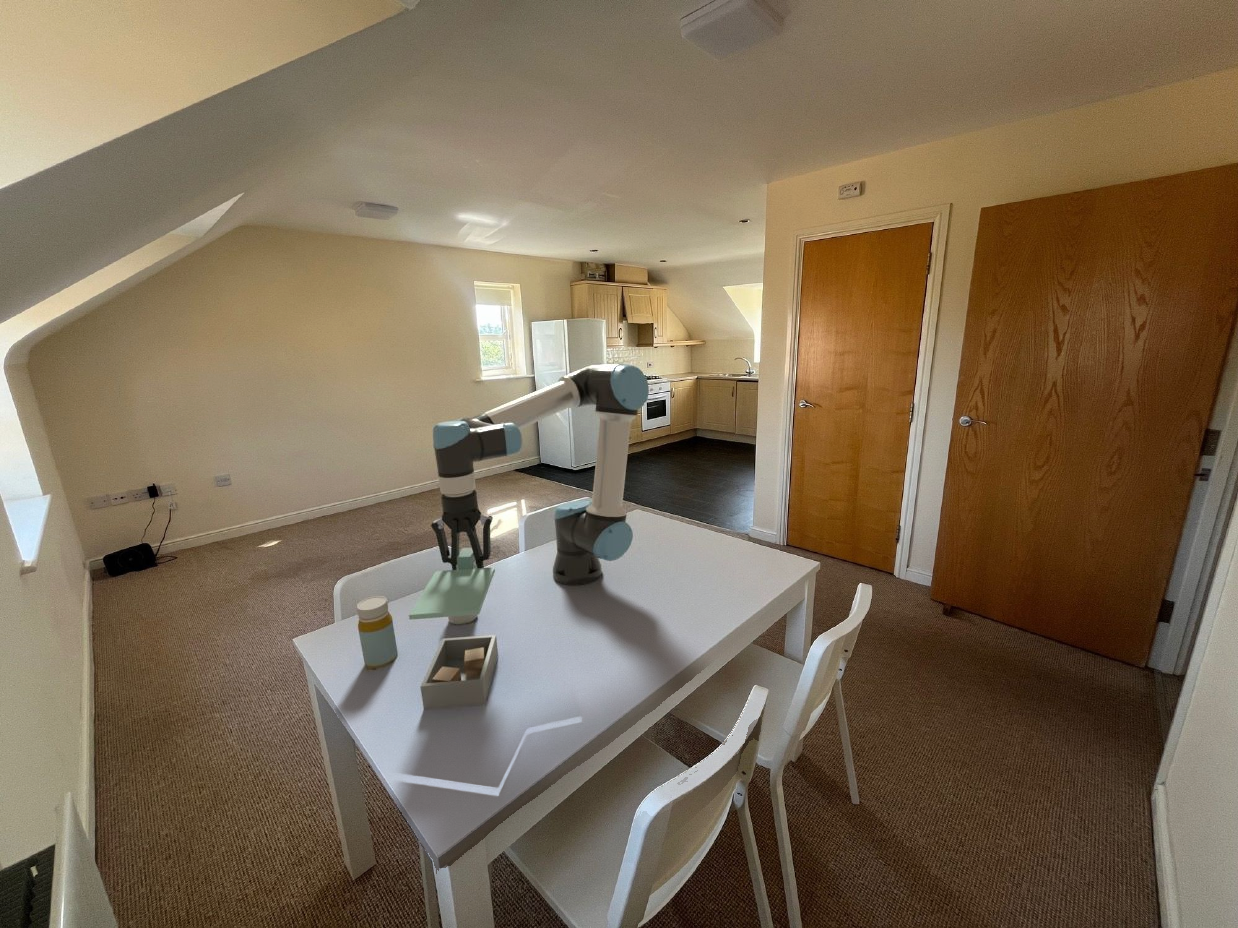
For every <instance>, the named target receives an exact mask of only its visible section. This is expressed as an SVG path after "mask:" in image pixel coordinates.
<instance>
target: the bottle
mask: <svg viewBox="0 0 1238 928" xmlns="http://www.w3.org/2000/svg"><path fill="white" fill-rule="evenodd" d="M356 612H357V616H358V623H357V628H358V635H359V640H360V646H361V651H362V652H361V653H362V657H363V658H362V659H363V663H364V666H365V667H366V668H368V669H370V670H374V671H375V670H376V669H378V668H382V667H386V666H387V665H390V664H392V663H393V662H394V661H395V660H396V659H397V658H398V656H399V655H398V645H397V640H396V635H395V628H394V622H393V616H392V615H391V613H390V610H389V603H388V598H386V596H382V595H377V596H376V595H375V596H370V597H367V598H364V599H363V600H361V601H359V603H357V605H356Z"/></svg>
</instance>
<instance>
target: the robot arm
mask: <svg viewBox="0 0 1238 928" xmlns="http://www.w3.org/2000/svg"><path fill="white" fill-rule="evenodd" d="M649 387H650V386H649V382H648V378H647V376H646V375H645V374H644V373H643V371H642V370H641V369H640V368H639V367H637V366H635V365H631V364H625V363H614V364H613V363H612V364H611V363H607V364H606V363H595V364H591V365H587V366H585V367H583V368H580V369H578V370H575V371H573V372H571V373H568V374H566V375H563V376H561V377H560V378H559V379H558V381H557V382H556V383H554V384H551V385H549V386H546V387H543V388H541V389H539V390H536V391H533V392H531V393H528V394H526V395H524V396H522V397H519V398H517V399H515V400H511V401H509V402H507V403H505V404H502V405H499V406H497V407H495V408H492V409H490V410H488V411H486V412H483V413H480V414H477V415H475V416H473V417H472V416H471V417H461V418H457V419H455V420H453V421H452V420H451V421H443V422H438V423H437V424H434V426H433V428H432V441H433V445H432V446H433V449H434V455H435V461H436V462H435V463H436V468H437V475H438V477H437V478H438V485H439V486H438V487H439V492H440V493H441V496H440V499H441V507H442V515H441V517H440V518H437V519H436V518H435V519H434V520H433V521H432V523H431V524H430V526H431V528H432V530H433V531H434V533H435V535H436V539H437V544H438V549H439V554H440V556H441V561H442V562H443V564H451V570H458V562H457V556H458V555H459V553H460V533H466V535H467V537H468V539H469V542H470V548H472V550H473V554H474V557H475V561H474V563H473V569H476V568H485V567H484V566H485V564H484V561H488V560H490V559H489V558H490V556H491V554H492V553H491V550H492V549H491V525H492V522H493V516H491V515H488V516H486V515H484V514H482V512H481V511H480V509H479V503H478V502H479V501H478V495H477V491H476V490H475V489H476V488H477V486H476V478H475V468H474V463H478V462H481V461H487V460H493V459H497V458H498V459H499V458H503V457H508V456H511V455H514V454H515V455H516V454H518V453H519V452H520V451H521V449H522V446H523V438H522V437H523V436H522V432H521V430H522V429H524V428H526V427H528V426H530V425H533V424H535V423H537V422H539V421H541V420H544V419H546V418H548V417H550V416H553V415H556V414H558V413H559V412H562V411H565V410H566V409H568V408H569V409H573V410H574V409H578V408H580V407H583V406H589V405H591V406H594V405H595V410H594V411H595V414H596V415H597V416H598V418H599V427H598V435H597V447H596V458H595V466H594V467H595V469H594V477H593V487H592V497H591V501H590V500H572V501H567V502H565V503H562V504H559V505H558V506H556V508H555V509H554V518H553V519H554V524H555V528H554V529H555V537H556V538H555V539H556V556H555V559H554V563H553V566H552V578H553V579H554V580H555V581H556V582H558V583H560V584H564V585H567V586H568V585H569V586H579V585H586V584H590V583H592V582H594V581H596V580H598V579H599V578H600V577H601V575H602V563H601V561H600V559H602V560H604V561H608V562H614V561H616V560H618V559H620V558H622V557H623V556H624V555H625V554H626V553H627V552H628V550H629V549H630V547H631V545H632V541H633V536H634V534H633V533H634V532H633V529H632V528H631V526H630V524H629V523H628V522H627V515H628V514H627V511H626V509H625V508H624V506H623V499H624V491H625V481H626V471H627V464H628V463H627V462H628V455H629V445H630V436H631V435H630V434H631V425H632V421H633V420H635V418H637V417H638V412H639V409H640V408H642V407H644V405H645V403H647V400H648V398H649V392H650V388H649ZM479 521H480V524H481V526H482V527H483V528H482V548H481V545H480V540H479V537H478V534H477V528H476V526H477V524H478V523H479ZM444 526H447V527H448V529H450V537H451V539H450V541H451V542H450V543H451V544H450V545H451V547H450V549H449V544H448V543H449V542H448V541H447V536H446V531H445V527H444Z"/></svg>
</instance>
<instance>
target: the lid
mask: <svg viewBox="0 0 1238 928" xmlns="http://www.w3.org/2000/svg"><path fill="white" fill-rule="evenodd" d="M474 561H475V557H474V554H473V550H472V547H461V549H460V550H459V555H458V556H457V562H458V570H452V569H451V570H450V569H449V570H447V569H446V570H437V571H435V572H434V573H433V575H432V577H431V578H430V580H429V582H428V583H427V585H426V586H425V588H424V590H423V591H422V592H421V594H420V596H419V598H418V599H417V601H416V603H415V604H414V606H413V608H412V609H411V610H410V612H409V614H408V619H409V620H423V619H424V620H425V619H437V618H448V617H452V616H465V615H477V616H478V615H480V613H481V610H482V608H483V604H484V603H485V599H486V597H487V594H488V592H489V588H490V586H491V583H492V580H493V578H494V574H495V572H496V570H495V567H494V566H493V567H484V568H476V569H473V563H474Z"/></svg>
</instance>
